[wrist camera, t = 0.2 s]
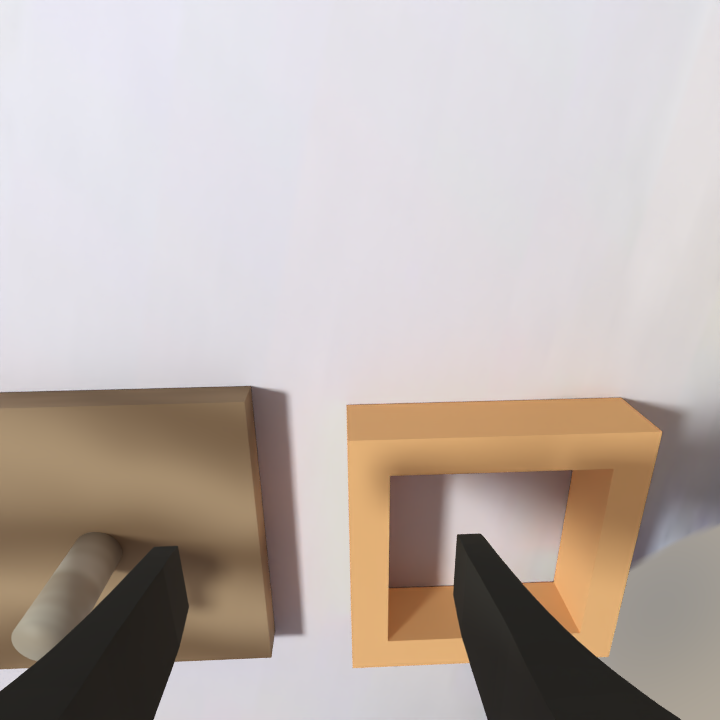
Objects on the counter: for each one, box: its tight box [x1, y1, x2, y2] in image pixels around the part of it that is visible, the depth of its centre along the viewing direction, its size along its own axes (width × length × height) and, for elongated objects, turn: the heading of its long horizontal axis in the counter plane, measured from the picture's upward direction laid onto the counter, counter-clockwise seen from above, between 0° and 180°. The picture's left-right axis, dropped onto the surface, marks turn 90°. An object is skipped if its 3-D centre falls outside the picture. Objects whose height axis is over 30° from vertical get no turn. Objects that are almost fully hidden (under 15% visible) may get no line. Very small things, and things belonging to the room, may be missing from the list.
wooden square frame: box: [347, 398, 662, 668], centre depth 22 cm, size 12×12×3 cm
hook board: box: [0, 386, 275, 669], centre depth 20 cm, size 14×14×6 cm
